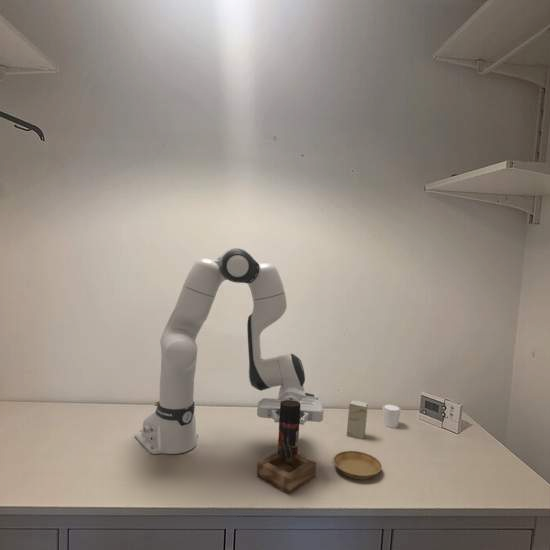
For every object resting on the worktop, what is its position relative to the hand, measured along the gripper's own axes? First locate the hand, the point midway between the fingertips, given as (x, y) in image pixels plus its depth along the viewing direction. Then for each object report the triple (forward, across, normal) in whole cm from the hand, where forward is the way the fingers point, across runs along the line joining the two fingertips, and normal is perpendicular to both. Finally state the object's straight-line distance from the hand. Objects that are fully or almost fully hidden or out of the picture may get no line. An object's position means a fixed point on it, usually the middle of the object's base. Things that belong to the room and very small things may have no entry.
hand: (289, 421), depth 125 cm
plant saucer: (-8, +22, +18) cm, 30 cm away
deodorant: (0, 0, +10) cm, 10 cm away
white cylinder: (-44, +39, +18) cm, 62 cm away
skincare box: (-33, +24, +18) cm, 44 cm away
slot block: (-1, 0, +18) cm, 18 cm away
